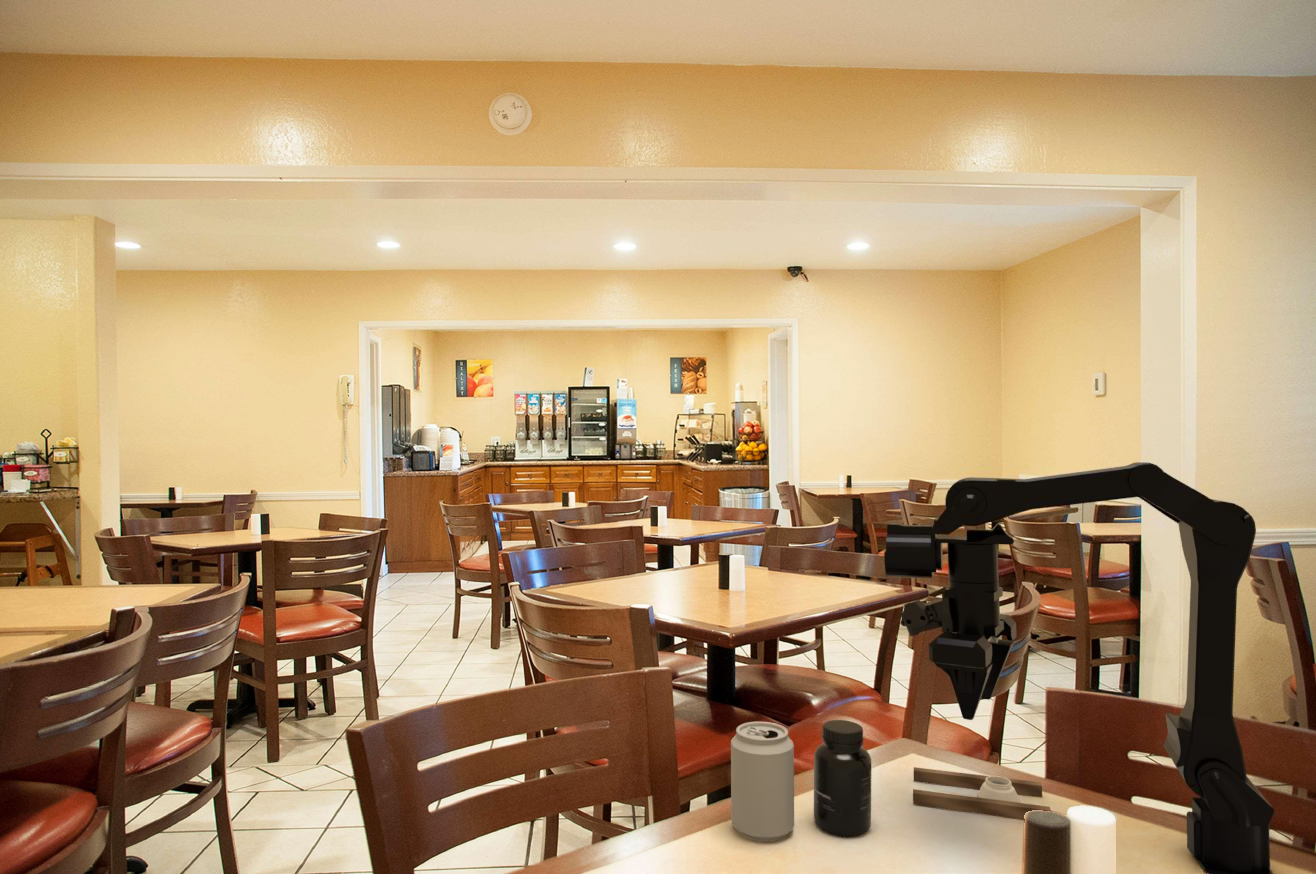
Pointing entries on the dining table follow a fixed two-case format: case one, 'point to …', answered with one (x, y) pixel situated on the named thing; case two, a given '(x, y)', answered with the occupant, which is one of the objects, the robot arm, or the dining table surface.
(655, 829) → the dining table surface
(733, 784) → the can
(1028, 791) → the chute
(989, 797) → the lidless jar
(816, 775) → the supplement bottle
